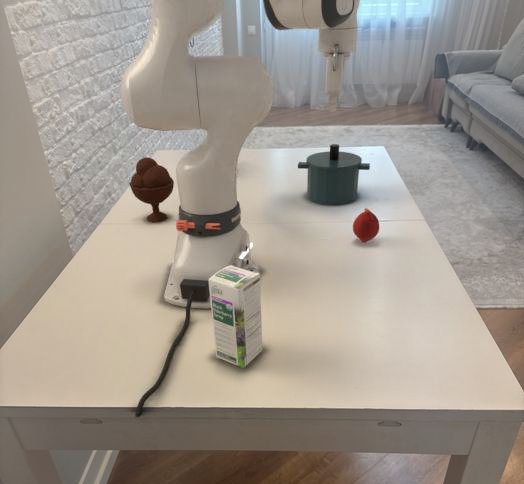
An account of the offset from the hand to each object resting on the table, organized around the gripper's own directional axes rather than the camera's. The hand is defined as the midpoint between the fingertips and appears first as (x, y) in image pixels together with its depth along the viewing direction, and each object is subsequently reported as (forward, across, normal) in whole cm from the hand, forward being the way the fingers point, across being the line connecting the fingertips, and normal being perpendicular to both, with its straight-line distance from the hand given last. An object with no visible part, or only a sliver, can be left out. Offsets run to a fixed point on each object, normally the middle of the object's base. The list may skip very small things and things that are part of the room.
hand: (333, 107), depth 123 cm
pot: (+23, 0, -1) cm, 23 cm away
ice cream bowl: (+23, -20, +43) cm, 53 cm away
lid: (+13, 0, -1) cm, 13 cm away
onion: (+22, -29, -10) cm, 38 cm away
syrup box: (+22, -74, +10) cm, 78 cm away
